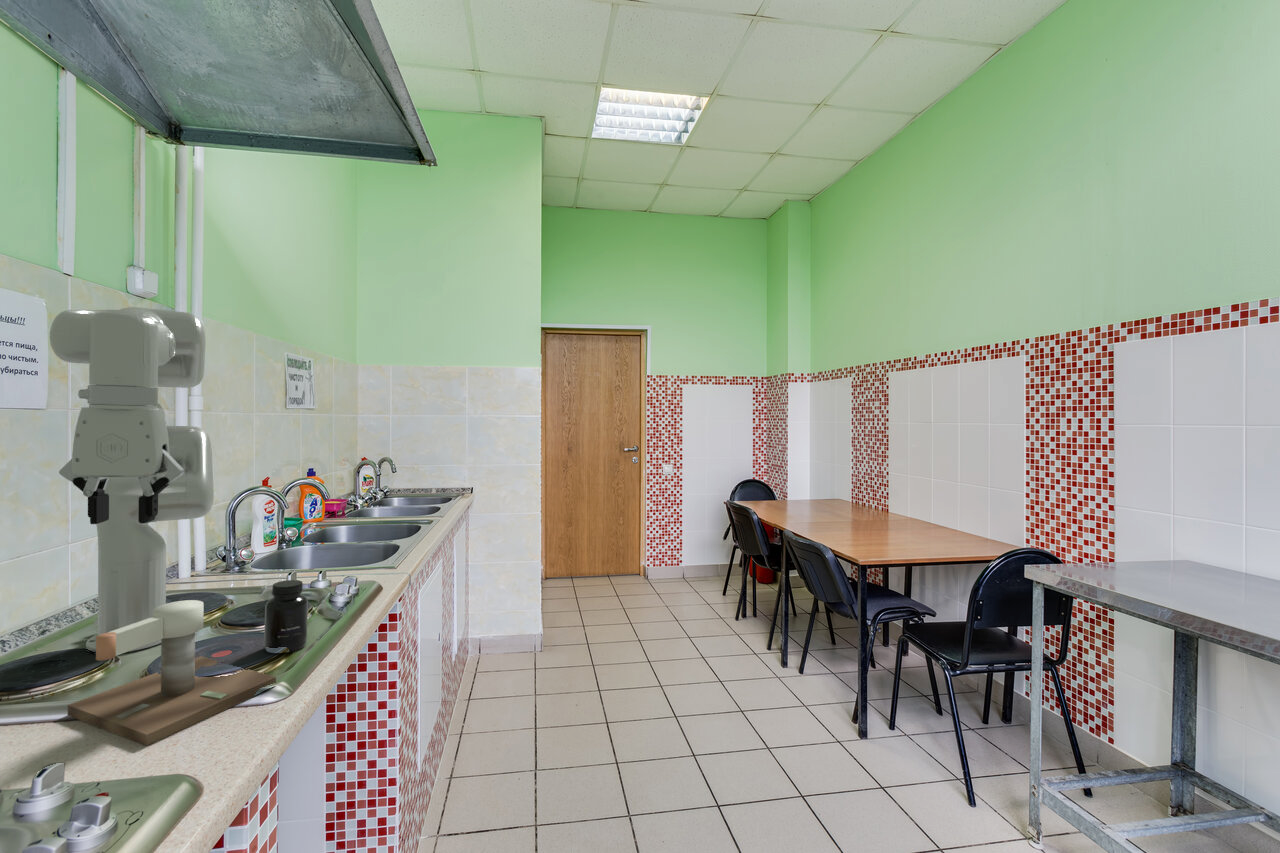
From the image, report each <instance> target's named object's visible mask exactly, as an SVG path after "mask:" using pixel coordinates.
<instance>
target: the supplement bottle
mask: <svg viewBox="0 0 1280 853" xmlns="http://www.w3.org/2000/svg"><path fill="white" fill-rule="evenodd" d="M271 588H272V589H271V590H272V591H271V596H272V597H271V598H270V599H269V600H267V602H266V604H265V607H264V630H263V631H264V632H263V637H264V639H263V647H264V646H265V647H269V648H278V647H287V648H288V649H289V651H290V653H293V652H296V651H299V650H301V649H302V648H304V647H305V646H306V644H307V642H308V641H307V640H308V637H307V636H308V618H309V616H308V612H309V600H308V598H307V596H305V595H304V594H302V593H303V592H304V588H303V581H302V580H299V579H298V580H297V579H287V580H281V581H277V582H275V583H273V584H272V587H271Z"/></svg>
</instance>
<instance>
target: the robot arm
mask: <svg viewBox="0 0 1280 853" xmlns="http://www.w3.org/2000/svg"><path fill="white" fill-rule="evenodd" d="M205 333H206V332H205V329H204V326H203V323H202V321H201V320H200V318H198V317H197V315H194V314H193V313H190V312H186V311H185V312H184V311H176V310H166V309H165V310H164V309H158V308H157V309H156V308H145V307H136V306H135V307H134V306H133V307H132V306H130V307H124V308H120V309H67V310H64V311H61V312H60V313H59V314H57V315H56V316H55V317H54V319H53V321H52V323H51V326H50V331H49V344H50V347H51V349H52V351H53V353H54V354H55V355H56V357H58V358H59V359H60V360H61V361H64V362H67V363H71V364H72V363H73V364H85V365H86V364H87V365H89V366H88V367H89V368H88V369H89V370H88V374H89V376H88V379H89V380H88V384H89V385H87V388H86V389H78V393H77V394H78V397H79V399H80V400H81V399H84V400H85V399H86V400H87V404H88V406H87V407H86V406H84V407H81V409H80V411H79V414H78V417H77V422H76V426H75V431H74V436H73V442H72V443H73V444H72V454H71V459H70V460H69V461H68V462H67V463H66V464H65V465H64V466H63V467H61V469H59V470H58V472H59V475H60V476H62V477H63V478H65V479H66V480H68V481H69V482H71V483H72V484H73V486H75V487H76V488H78V489H79V490H80V491H81V492H82V495H83V496H85V497H87V517H88V518H89V523H90V525H96V532H97V550H98V551H97V552H98V553H97V556H98V558H97V565H98V566H97V568H98V569H97V617H96V618H95V619H94V621H93V623H94V624H95V625H97V633H96V634H95V635H92V637H90V638H88V640H86V642H85V650H86V649H88V650H96V636H98V635H100V634H103V633H108V632H110V631H113V630H116V629H119V628H122V627H125V626H128V625H131V624H134V623H137V622H140V621H142V620H145V619H148V618H151V617H153V609H154V608H156V607H158V606H161V605H164V604H167V544H166V542H165V539H164V538H163V537H162V535H161V534H160V533H159V532H158V531H156V530H155V529H154V528H153V527H151V526H150V525H149V524H150V523H157V522H165V521H167V522H168V521H180V520H182V521H183V520H192V519H198V518H202V517H205V516H206V515H208V514H209V513H210V511H211V510H212V508H213V504H214V497H215V495H214V491H215V490H214V471H213V451H212V442H211V439H210V436H209V434H208V432H206V431H205V430H204V429H203V428H200V427H198V426H193V425H167V422H166V412H165V409H164V408H163V407H162V406H161V404H160V403H159V402H158V400H159V399H158V396H159V390H158V389H159V388H179V389H180V388H181V389H184V388H185V389H187V388H189V389H190V388H193V387H197V386H198V385H200V384H201V383H202V381H203V379H204V375H205V366H206V365H205V362H206V360H205V357H206V334H205ZM158 387H159V388H158ZM160 644H161V639H159V640H156V641H154V642H151V643H149V644H146V645H143V646H141V647H138V648H136V649H133V650H130V651H128V652H129V653H130V652H136V651H140V650H143V649H148V648H151V647H153V646H157V645H160ZM88 650H87V651H88ZM128 652H127V653H128Z"/></svg>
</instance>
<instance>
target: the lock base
mask: <svg viewBox="0 0 1280 853" xmlns="http://www.w3.org/2000/svg"><path fill="white" fill-rule="evenodd" d="M160 644H161V645H160V647H161V650H160V652H161V654H160V671H157V672H154V673H152V674H148V675H146V676H144V677H141V678H139V679H138V678H137V679H135V680H133V681H130V682H127V683H124V684H122V685H119V686H116V687H114V688H110V689H108V690H105V691H102V692H100V693H99V692H98V693H97V694H94V695H92V696H88V697H86V698H83V699H80V700H77V701H75V702H72V703H70V704H67V716H68V717H71V718H74V719H76V720H78V721H81V722H84V723H85V724H86V723H87V724H88V725H92V726H94V727H97V728H99V729H102V730H105V731H107V732H109V733H113V734H116V735H118V736H120V737H123V738H125V739H128V740H130V741H133V742H136V743H138V744H141V745H143V746H147V747H148V746H149V745H152V744H154V743H156V742H158V741H160V740H164V739H165V738H167V737H169V736H172V735H173V734H176V733H179V732H180V731H183V730H184V729H187V728H189V727H190V726H193V725H195V724H197V723H200V722H203V721H204V720H206V719H208V718H210V717H213V716H214V715H216V714H219V713H222V712H223V711H225V710H227V709H230V708H232V707H234V706H236V705H238V704H240V703H243V702H245V701H247V700H249V699H251V698H253V696H254V695H255V694H256V692H257V691H258V690H259V689H260V688H262V687H265V686H267V685H270V684H273V683H276V684H277V678H276V676H273V675H270V674H267V673H263V672H258V671H255V670H252V669H248V668H247V669H248V670H245V671H242V672H240V673H237V674H234V675H228V676H220V677H198V676H195V671H196V670H197V669H198V668H200V667H201V666H206V667H207V666H212V665H215V664H217V663H216V662H217V661H218V660H217V659H213V658H210V657H206V656H203V655H201V656H198V657H196V632H195V633H193V634H189V635H186V636H181V637H175V638H162V639H161V643H160ZM158 672H161V674H158ZM254 697H255V696H254Z"/></svg>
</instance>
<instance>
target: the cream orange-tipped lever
mask: <svg viewBox="0 0 1280 853" xmlns="http://www.w3.org/2000/svg"><path fill="white" fill-rule="evenodd" d="M204 612H205V611H204V602H203V601H201V600H198V599H196V600H195V599H191V600H190V599H189V600H178V601H172V602H168V603H167V602H166V604H164V605H161V606H158V607H156V608H154V609H153V617H151V618H148V619H145V620H142V621H140V622H137V623H134V624H131V625H128V626H125V627H122V628H119V629H116V630H113V631H110V632H108V633H103V634H100V635H98V636H96V653H95V661H107V660H111V659H113V658H115V657H117V656H119V655H123V654H125V653H128V651H130V650H133V649H136V648H138V647H141V646H143V645H146V644H149V643H151V642H154V641H156V640H159V639H162V638H175V637H181V636H186V635H189V634H193V633H195V634H196V633H198V632H199V631H201V630H202V629H203V628H204V614H205V613H204ZM130 652H131V651H130Z"/></svg>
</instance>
